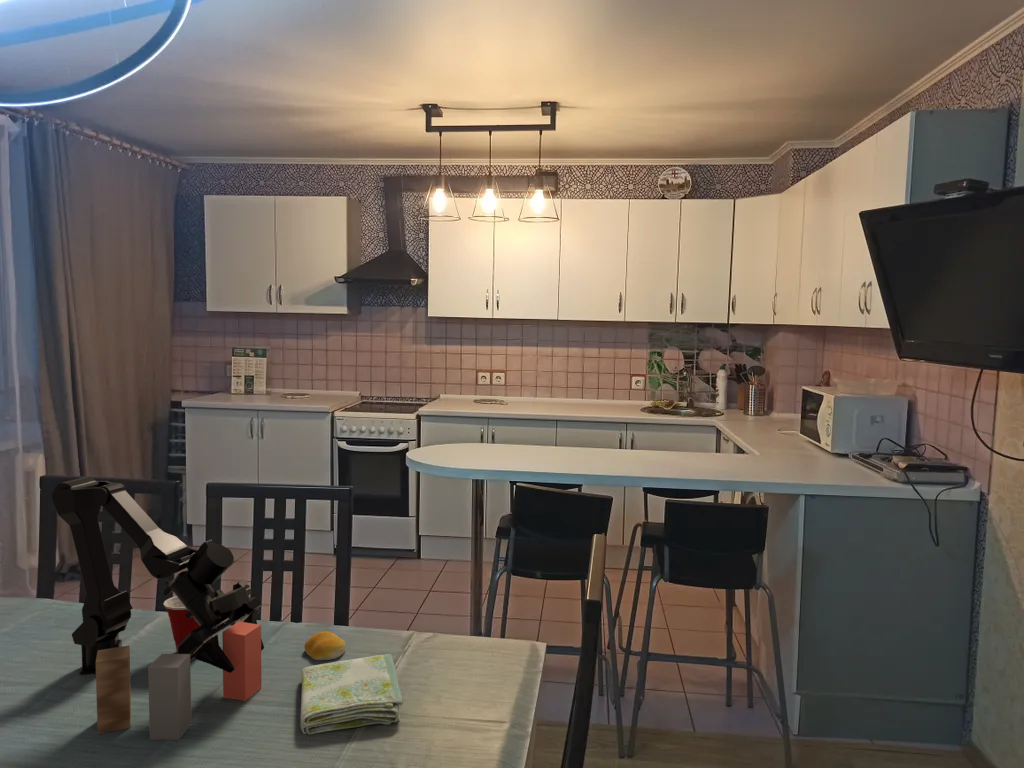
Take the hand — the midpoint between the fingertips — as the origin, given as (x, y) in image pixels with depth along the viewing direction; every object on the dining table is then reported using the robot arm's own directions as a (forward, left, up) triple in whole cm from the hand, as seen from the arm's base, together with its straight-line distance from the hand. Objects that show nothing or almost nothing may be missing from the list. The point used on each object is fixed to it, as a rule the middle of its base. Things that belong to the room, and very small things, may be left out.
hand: (248, 660), depth 139 cm
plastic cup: (-13, +22, -7) cm, 26 cm away
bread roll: (+15, +15, -7) cm, 22 cm away
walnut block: (-22, -5, -7) cm, 24 cm away
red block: (-1, +1, -7) cm, 7 cm away
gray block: (-12, -10, -7) cm, 17 cm away
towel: (+19, -7, -7) cm, 22 cm away
